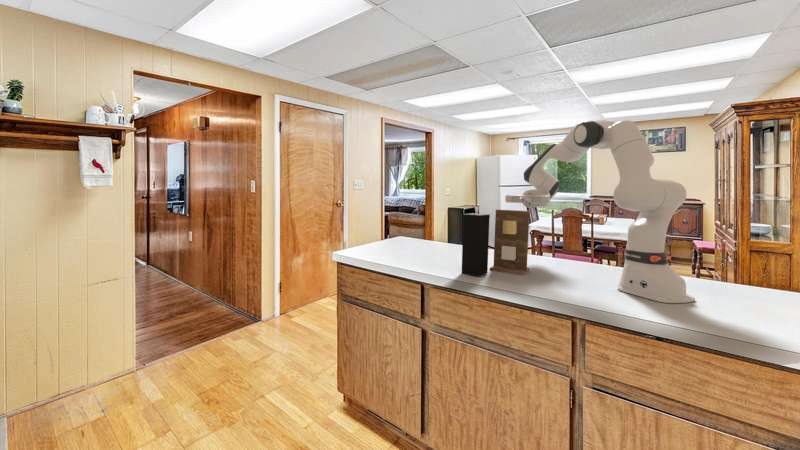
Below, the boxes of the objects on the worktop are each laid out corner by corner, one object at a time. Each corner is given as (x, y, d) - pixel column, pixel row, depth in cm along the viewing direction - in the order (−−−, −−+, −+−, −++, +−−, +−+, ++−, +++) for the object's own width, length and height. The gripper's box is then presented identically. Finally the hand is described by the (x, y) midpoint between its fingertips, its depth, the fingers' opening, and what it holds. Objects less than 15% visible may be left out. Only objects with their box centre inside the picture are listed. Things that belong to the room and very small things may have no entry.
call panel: (497, 266, 164) (500, 208, 161) (529, 270, 156) (532, 210, 153) (489, 270, 156) (492, 210, 153) (522, 275, 148) (525, 211, 145)
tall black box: (487, 273, 150) (490, 206, 147) (477, 277, 144) (480, 207, 141) (471, 270, 155) (473, 205, 152) (461, 273, 150) (463, 206, 147)
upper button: (507, 231, 159) (508, 219, 158) (520, 232, 155) (521, 219, 155) (502, 233, 153) (502, 220, 152) (515, 234, 150) (516, 221, 149)
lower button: (506, 256, 160) (507, 243, 159) (519, 257, 157) (519, 245, 156) (501, 258, 154) (501, 246, 154) (514, 260, 151) (515, 247, 150)
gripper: (510, 191, 182) (501, 192, 171) (553, 192, 171) (546, 193, 159) (509, 204, 183) (500, 205, 172) (552, 206, 171) (545, 207, 160)
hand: (523, 199), depth 165 cm, fingers closed
